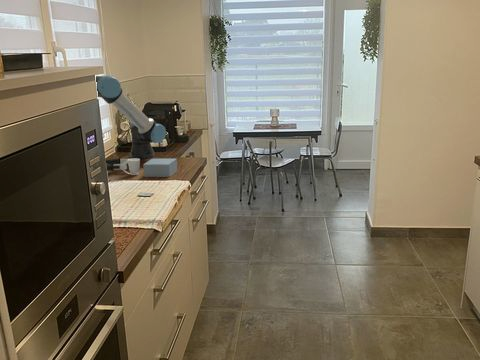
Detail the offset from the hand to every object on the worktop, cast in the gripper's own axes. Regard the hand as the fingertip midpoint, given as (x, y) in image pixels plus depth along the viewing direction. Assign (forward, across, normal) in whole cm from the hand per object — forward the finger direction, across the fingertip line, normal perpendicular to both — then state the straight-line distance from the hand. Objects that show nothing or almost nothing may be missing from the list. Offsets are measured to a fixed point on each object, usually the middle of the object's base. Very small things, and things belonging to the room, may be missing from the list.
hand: (129, 163), depth 245 cm
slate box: (+17, 0, -6) cm, 18 cm away
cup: (+1, 0, -6) cm, 6 cm away
